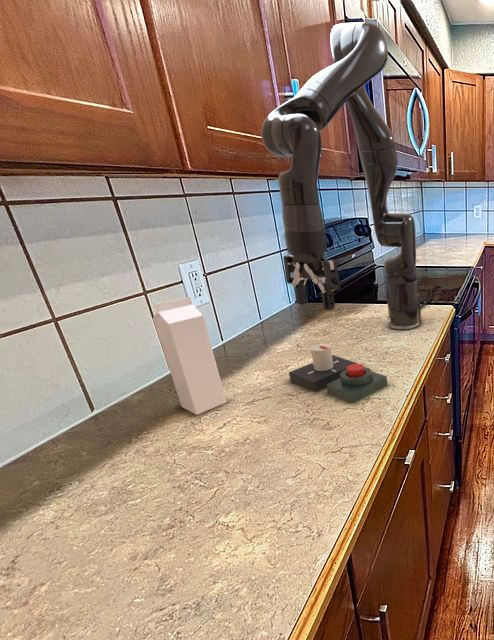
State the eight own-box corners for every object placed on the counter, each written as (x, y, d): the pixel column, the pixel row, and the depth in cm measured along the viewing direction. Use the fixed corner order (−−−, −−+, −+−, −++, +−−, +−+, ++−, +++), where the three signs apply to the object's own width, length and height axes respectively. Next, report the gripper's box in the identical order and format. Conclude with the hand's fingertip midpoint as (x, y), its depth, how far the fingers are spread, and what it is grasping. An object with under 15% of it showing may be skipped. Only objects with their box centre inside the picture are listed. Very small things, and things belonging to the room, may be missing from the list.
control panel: (333, 364, 105) (332, 354, 103) (358, 372, 100) (357, 362, 99) (290, 382, 95) (288, 371, 94) (316, 392, 91) (314, 381, 90)
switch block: (362, 376, 98) (360, 360, 96) (387, 385, 94) (386, 369, 92) (327, 393, 90) (324, 376, 89) (353, 403, 86) (350, 386, 85)
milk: (227, 402, 87) (199, 298, 78) (196, 415, 82) (163, 306, 73) (211, 395, 90) (183, 294, 81) (180, 407, 85) (146, 301, 76)
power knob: (310, 368, 96) (306, 346, 94) (325, 362, 99) (322, 341, 97) (322, 372, 94) (318, 350, 92) (337, 366, 97) (334, 344, 95)
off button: (357, 369, 93) (356, 362, 92) (368, 373, 91) (367, 366, 91) (344, 375, 90) (343, 368, 90) (355, 379, 89) (354, 372, 88)
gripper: (343, 228, 84) (352, 307, 90) (298, 225, 91) (308, 298, 97) (312, 231, 78) (323, 315, 84) (265, 227, 85) (279, 305, 91)
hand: (315, 306), depth 90 cm, fingers open, 8 cm apart
